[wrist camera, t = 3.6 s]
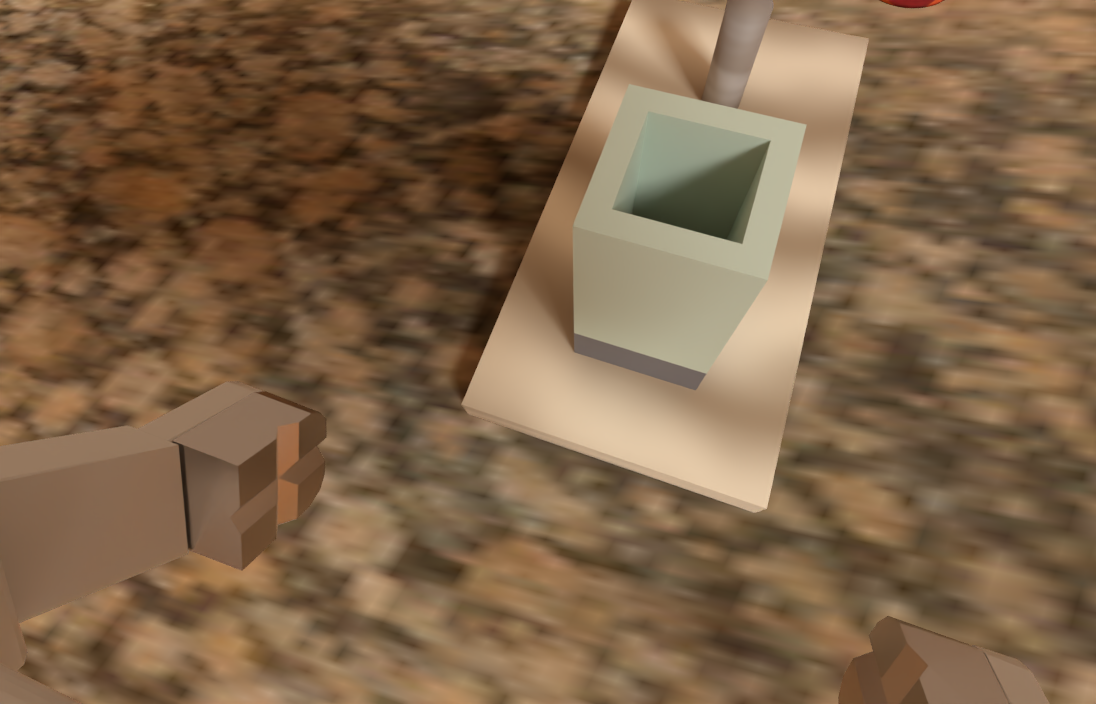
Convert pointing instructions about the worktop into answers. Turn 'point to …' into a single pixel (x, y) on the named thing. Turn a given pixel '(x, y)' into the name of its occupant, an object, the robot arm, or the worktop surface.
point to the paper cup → (912, 3)
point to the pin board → (775, 315)
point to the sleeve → (678, 231)
